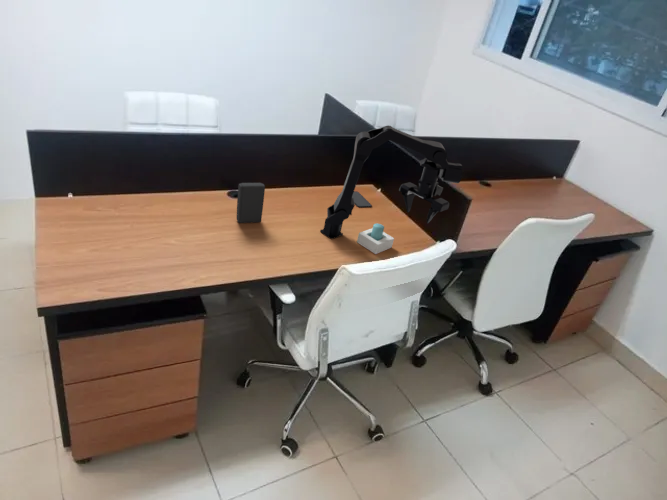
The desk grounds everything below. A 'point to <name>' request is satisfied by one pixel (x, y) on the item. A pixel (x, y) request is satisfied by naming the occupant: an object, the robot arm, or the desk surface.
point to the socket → (375, 241)
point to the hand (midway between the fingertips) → (417, 217)
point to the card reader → (250, 202)
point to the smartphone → (360, 200)
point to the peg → (377, 231)
